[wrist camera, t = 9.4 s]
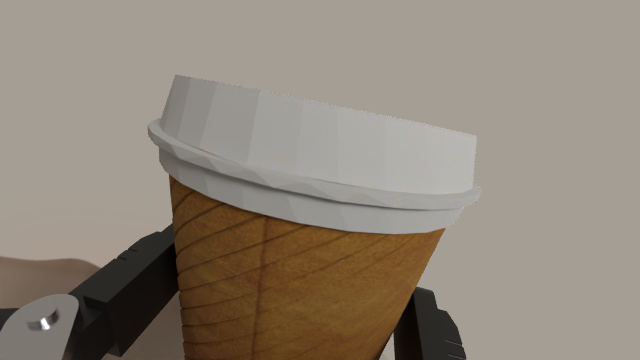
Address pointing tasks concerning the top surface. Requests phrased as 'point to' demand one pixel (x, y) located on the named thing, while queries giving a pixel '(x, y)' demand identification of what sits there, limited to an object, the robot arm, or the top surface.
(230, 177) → the disposable coffee cup
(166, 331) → the top surface
